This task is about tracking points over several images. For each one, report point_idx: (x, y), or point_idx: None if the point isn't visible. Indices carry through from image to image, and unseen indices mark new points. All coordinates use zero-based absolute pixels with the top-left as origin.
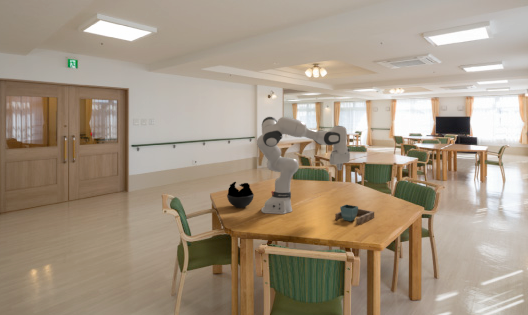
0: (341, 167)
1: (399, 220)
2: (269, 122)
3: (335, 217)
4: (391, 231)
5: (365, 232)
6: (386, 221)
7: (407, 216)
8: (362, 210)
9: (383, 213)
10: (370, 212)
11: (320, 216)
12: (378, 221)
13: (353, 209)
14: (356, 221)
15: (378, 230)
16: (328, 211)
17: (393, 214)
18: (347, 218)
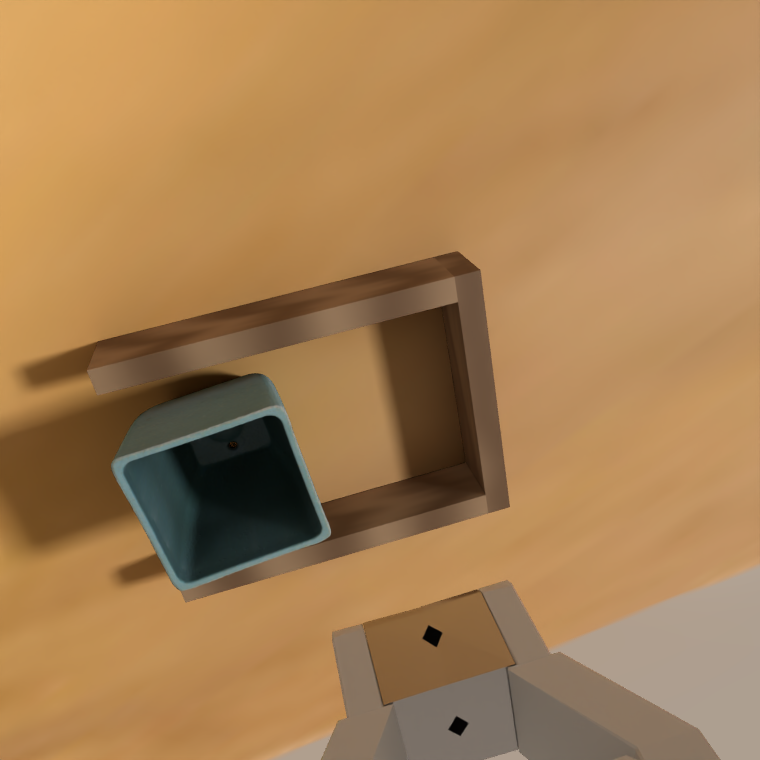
0: (525, 742)
1: (571, 602)
2: None
3: (94, 352)
4: (288, 739)
5: (92, 701)
6: (471, 583)
7: (714, 560)
8: (472, 410)
9: (672, 420)
10: (460, 507)
11: (2, 139)
12: (420, 559)
13: (200, 579)
14: None
15: (224, 701)
16: (273, 11)
17: (699, 479)
18: (173, 461)
